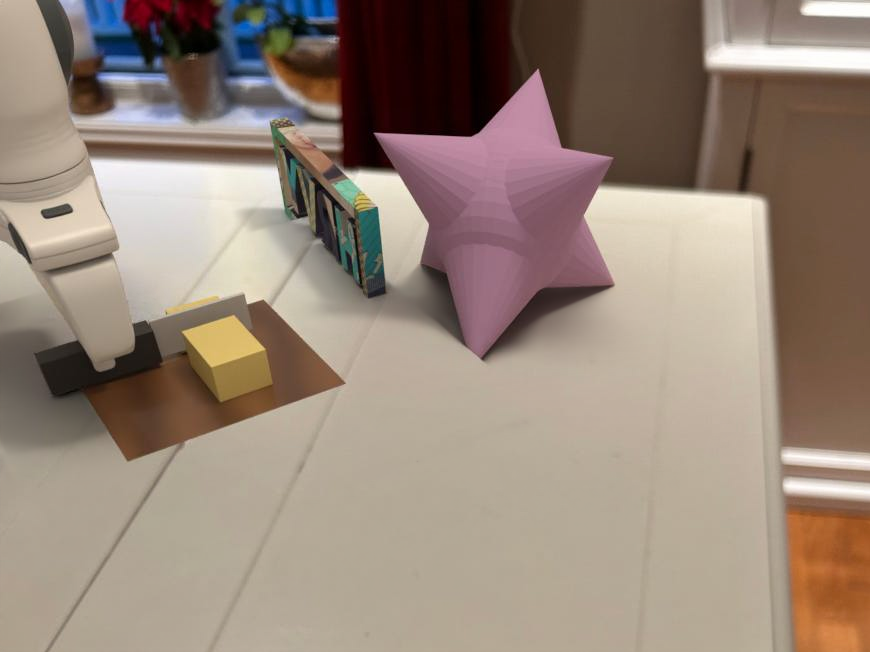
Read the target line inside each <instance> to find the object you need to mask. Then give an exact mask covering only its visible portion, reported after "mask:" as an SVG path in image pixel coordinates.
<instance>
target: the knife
mask: <svg viewBox="0 0 870 652" xmlns="http://www.w3.org/2000/svg"><path fill="white" fill-rule="evenodd" d="M247 304H248V303H247V298H246V294H245V292H244V291H241V292H238V293H235V294H231V295H228V296H225V297H221V298H219V299H217V300H214V301H211V302H207V303H204V304H201V305H197V306H194V307H190V308H187V309H184V310H180V311H177V312H174V313H170V314H167V315H166V314H163V315H160V316H157V317H153V318H150V319H148V320H146V319H145V320H141V321H138V322H134V323H132V325H133V329H134V335H135V347H134V350H133V351H132V352H131V353H129V354H126V355H123V356H120V357H117V358H114V360H115V366H114V367H113V368H112V369H109V370H105V371H102V372H99V371H97V370H96V369H95V368H94V366H93V365H92V363H91V362H90V359H89V356H88V355H87V353H86V351H85V350H84V348H83V347H82V345H81V344H80V342H79V341H78V340H77V339H76V340H73V341H70V342H66V343H63V344H60V345H57V346H53V347H50V348H47V349H43V350H39V351H36V352H33V356H34V358H35V360H36V363H37V365H38V368H39V370H40V372H41V374H42V376H43V379H44V381H45V383H46V385H47V388H48V390H49V393H50V394H51V396H52V397H55V396H59V395H63V394H66V393H69V392H72V391H76V390H79V389H81V388H82V387H85V386H88V385H91V384H95V383H98V382H101V381H104V380H107V379H111V378H114V377H117V376H120V375H123V374H127V373H130V372H133V371H136V370H139V369H143V368H146V367H149V366H152V365H156V364H159V363H162V362H163V360H162V357H164V356H167V355H170V354H174V353H177V352H180V351H183V350H187V349H186V346H185V342H184V339H183V335H182V331H185V330H188V329H191V328H194V327H198V326H201V325H204V324H207V323H210V322H213V321H217V320H220V319H223V318H226V317H229V316H233V315H234V316H235V317H236V318H237V319H238V320H239V321H240V322H241V323H242V324H243V326H244V327H245V328H246V329H247V330H251V329H253V328H252V324H251V320H250V315H249V311H248V307H247Z"/></svg>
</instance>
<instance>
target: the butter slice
mask: <svg viewBox="0 0 870 652" xmlns="http://www.w3.org/2000/svg"><path fill="white" fill-rule="evenodd" d="M217 299H220V298H219V296H218V295H213V296H210V297H206V298H203V299H200V300H196V301H193V302H188V303H185V304H182V305H178V306H175V307H171V308H168V309H165V311H164V312H165V315H167V314H170V313H174V312H177V311H180V310H184V309H187V308H190V307H194V306H197V305H201V304H204V303H207V302H211V301H214V300H217ZM180 352H181V353H185V352H187V350H183V351H180Z"/></svg>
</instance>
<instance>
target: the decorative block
mask: <svg viewBox="0 0 870 652" xmlns="http://www.w3.org/2000/svg"><path fill="white" fill-rule="evenodd" d="M269 126H270V127H269V128H270V132H271V139H272V145H273V149H274V157H275V161H276V162H275V163H276V166H277V167H276V168H277V173H278V178H279V184H280V191H281V195H282V202H283V208H284V213H285V215H287V217H288V218H289V217H290V218H289V219H290V221H295V220H299V219H302V218H306V217H308V221H309V225H310V229H311V230H312V231H313V233H314V234H315V235H318V234H322V238H321V243H323V244H324V246H325V247H326V248H327V249H330V248H332V252H333V256H334V257H335V258H336V259H337V260H338V261H339V262H340V261H341V265H342V266H343V267H344V268H345V270H346V271H347V272H349V271H352V272H353V279H354V280H355V281H356V282H357V283H358V285H360V286H361V285H362V292H363V294H364V296H365V297H366V298H367V299H372V298H375V297H378V296H383V295H386V294H387V293H388V292H387V286H386V285H387V283H386V275H385V265H384V263H385V262H384V253H383V243H382V234H381V223H380V213H379V206H378V205H377V204H376V203H375V202H374V201H372V199H370V198H369V196H368V195H366V194H365V193H364V192H363V191H362V190H361V189H360V188H359V187H358V186H357V185H356V184H355V182H353V181H352V179H350V178H349V177H348V176H347V175H346V174H345V173H344V172H343V171H342V170H341V169H340V168H339V166H337V165H336V164H335V163H334V162H333V161H332V160H331V159H330V158H329V157H328V156H327V155H326V154H325V153H324V152H323V151H322V150H321V149H320V148H319V147H318V146H317V145H316V144H315V143H314V142H313V141H311V139H310V138H309V137H308V136H307V135H306V134H305V133H304V132H303V131H302V130H301V129H300V128H299V127H298V126H297V125H296V124H294V123H293V122H292V120H291V119H290V118H288V117H287V116H286V117H280V118H274V119H270V120H269Z"/></svg>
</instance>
